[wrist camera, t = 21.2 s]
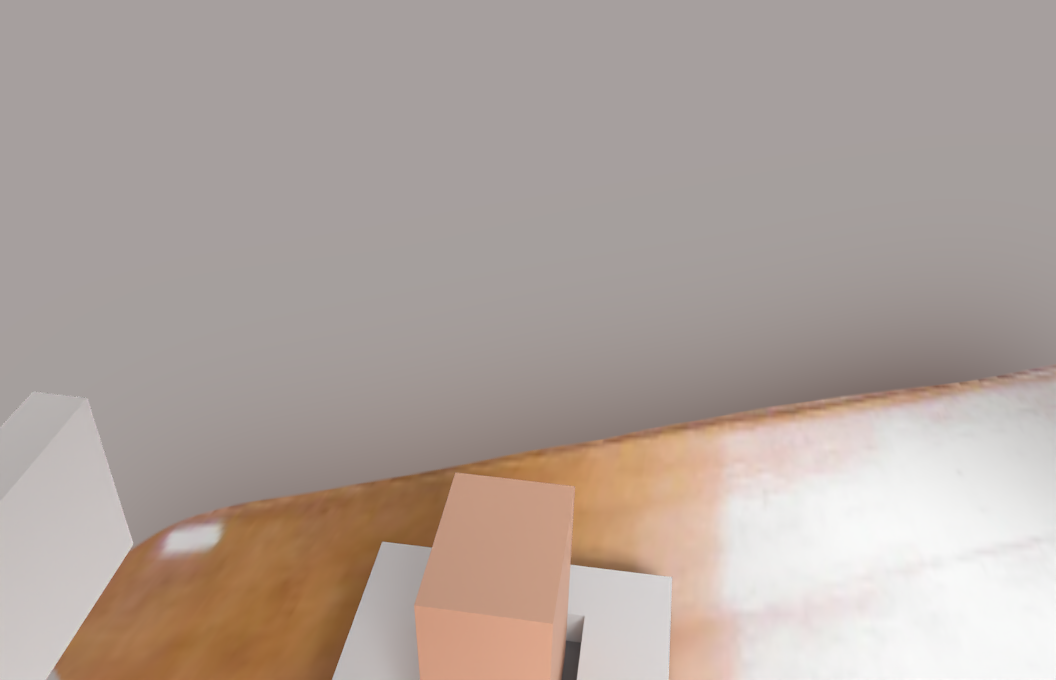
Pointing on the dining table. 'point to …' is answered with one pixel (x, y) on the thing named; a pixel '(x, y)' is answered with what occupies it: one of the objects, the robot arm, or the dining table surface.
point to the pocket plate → (591, 638)
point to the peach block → (497, 582)
